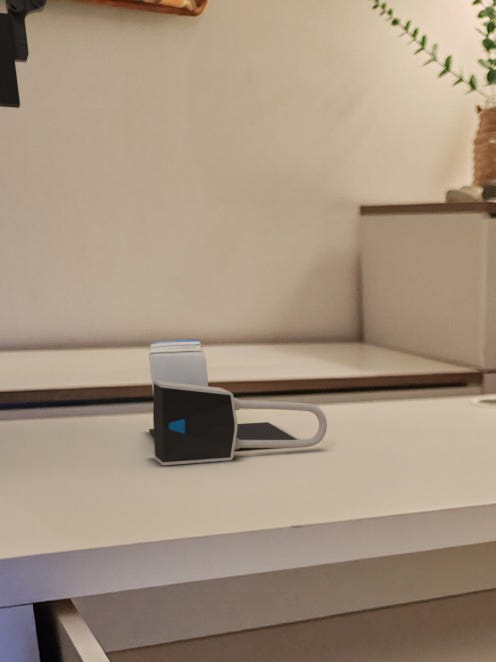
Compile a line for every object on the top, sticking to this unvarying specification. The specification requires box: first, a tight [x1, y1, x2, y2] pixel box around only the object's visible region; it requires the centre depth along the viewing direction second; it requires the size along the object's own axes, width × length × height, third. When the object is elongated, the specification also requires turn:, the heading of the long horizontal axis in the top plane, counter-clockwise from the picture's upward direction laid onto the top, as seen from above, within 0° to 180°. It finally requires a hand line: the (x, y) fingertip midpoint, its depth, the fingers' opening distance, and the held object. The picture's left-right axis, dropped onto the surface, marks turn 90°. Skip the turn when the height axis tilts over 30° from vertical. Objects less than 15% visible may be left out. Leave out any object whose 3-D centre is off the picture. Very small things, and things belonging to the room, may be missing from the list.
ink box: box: [148, 339, 209, 394], centre depth 97 cm, size 9×5×12 cm
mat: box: [148, 421, 298, 451], centre depth 100 cm, size 13×12×1 cm
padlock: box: [152, 380, 328, 466], centre depth 91 cm, size 7×4×15 cm
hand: (9, 105), depth 86 cm, fingers closed
